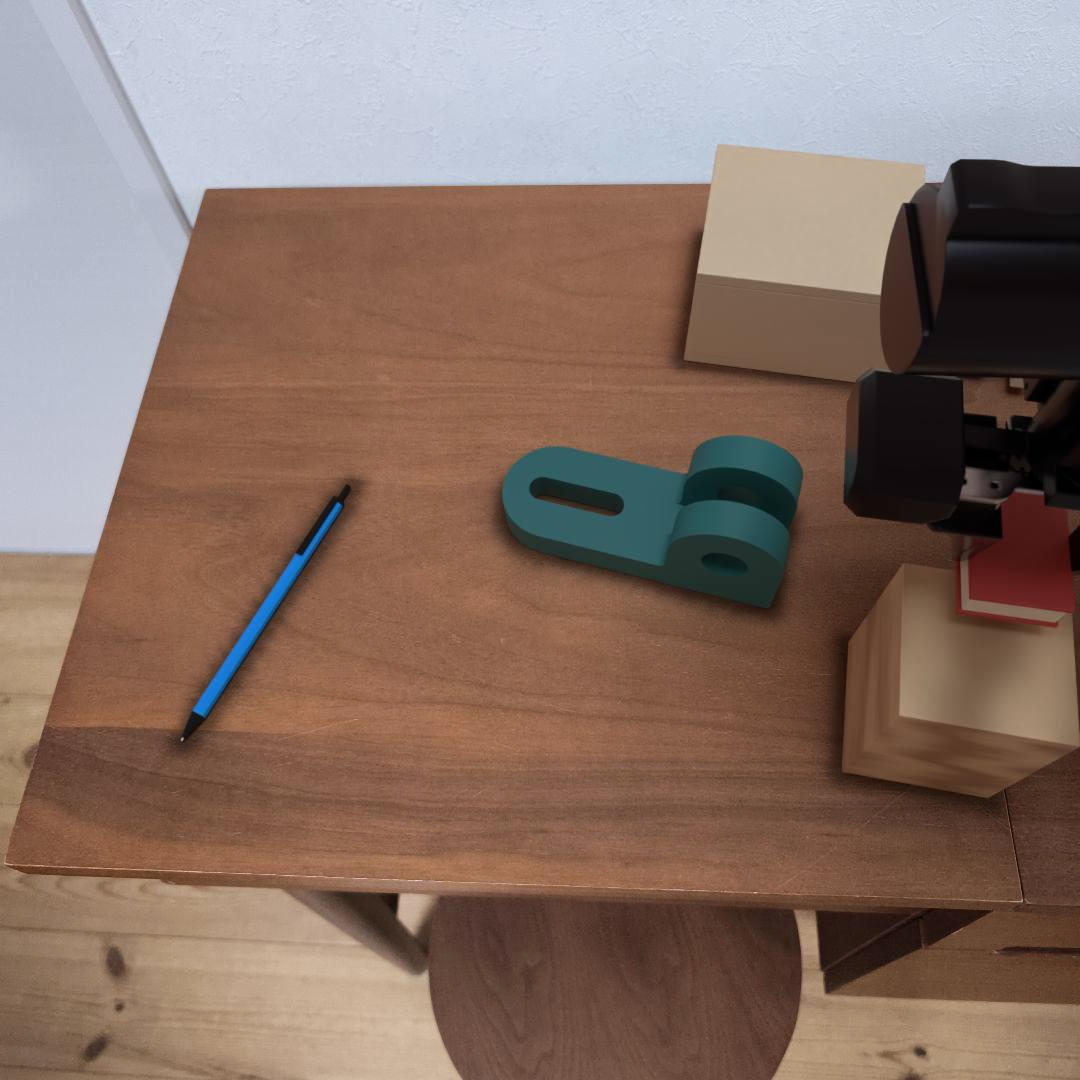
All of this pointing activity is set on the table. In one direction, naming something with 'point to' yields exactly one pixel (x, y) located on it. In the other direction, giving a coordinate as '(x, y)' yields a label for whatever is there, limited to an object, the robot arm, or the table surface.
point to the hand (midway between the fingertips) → (1007, 558)
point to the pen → (265, 612)
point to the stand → (955, 691)
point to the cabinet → (796, 261)
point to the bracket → (665, 514)
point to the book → (1021, 568)
